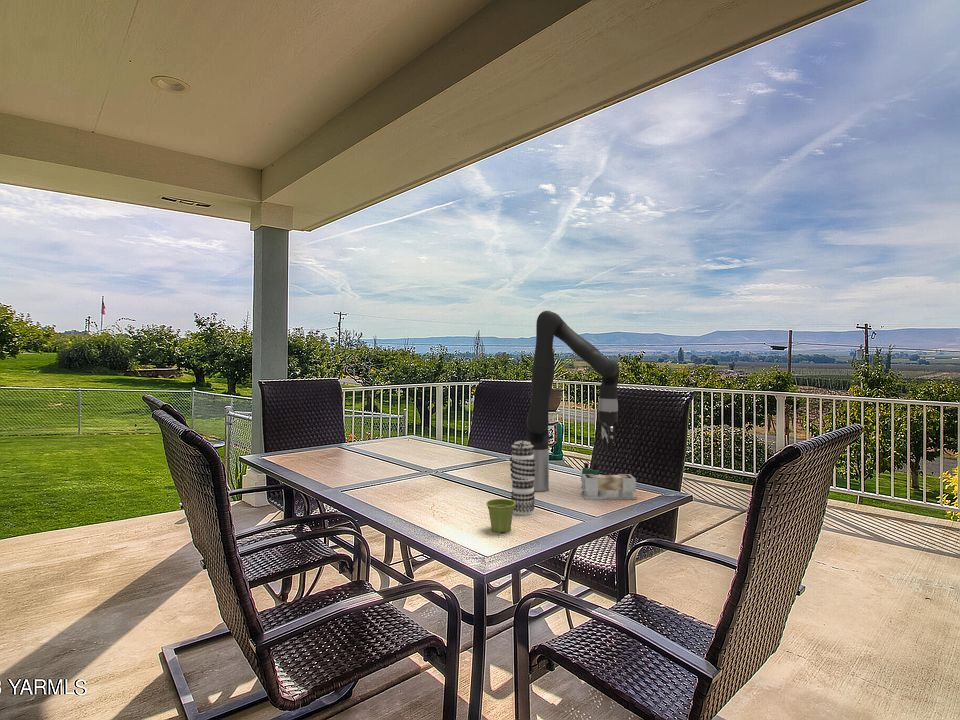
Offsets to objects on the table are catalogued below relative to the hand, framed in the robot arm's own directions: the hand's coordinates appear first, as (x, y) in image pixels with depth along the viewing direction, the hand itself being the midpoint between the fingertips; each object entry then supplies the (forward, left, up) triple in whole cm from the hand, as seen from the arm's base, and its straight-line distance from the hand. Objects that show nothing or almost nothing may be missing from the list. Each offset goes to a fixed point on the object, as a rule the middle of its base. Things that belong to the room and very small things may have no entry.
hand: (607, 450), depth 197 cm
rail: (0, 0, -15) cm, 15 cm away
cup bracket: (0, 0, -18) cm, 18 cm away
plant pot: (-43, -40, -19) cm, 62 cm away
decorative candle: (-35, -20, -19) cm, 44 cm away
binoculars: (-3, +15, -19) cm, 24 cm away
